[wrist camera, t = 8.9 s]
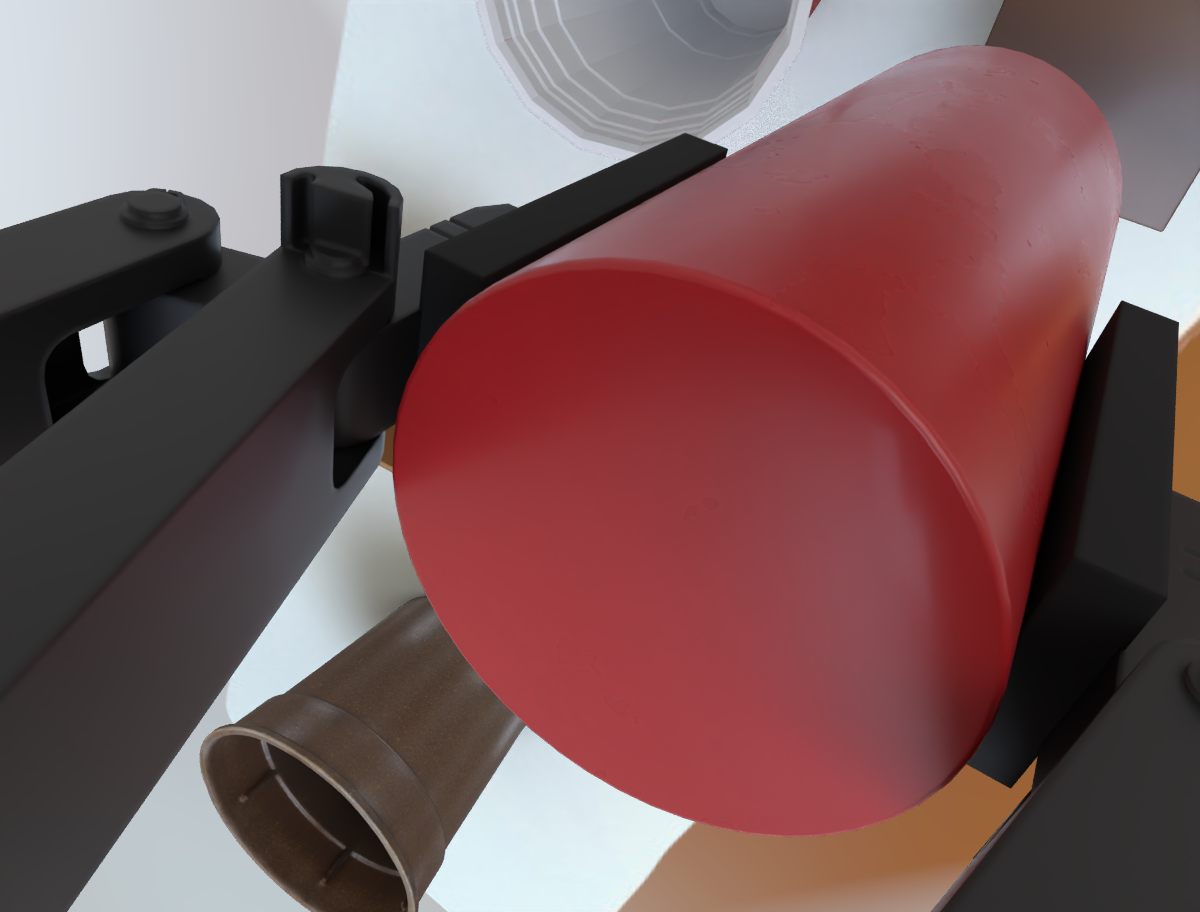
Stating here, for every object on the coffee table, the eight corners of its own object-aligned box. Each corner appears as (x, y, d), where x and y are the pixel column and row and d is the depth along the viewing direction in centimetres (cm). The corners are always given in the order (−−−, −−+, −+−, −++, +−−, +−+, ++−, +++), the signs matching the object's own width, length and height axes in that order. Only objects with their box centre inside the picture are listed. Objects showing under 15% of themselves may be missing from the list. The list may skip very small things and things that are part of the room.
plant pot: (585, 778, 65) (445, 980, 52) (414, 734, 73) (259, 898, 61) (529, 584, 58) (355, 762, 46) (348, 560, 67) (160, 705, 55)
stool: (1065, -93, 30) (1043, -93, 26) (1295, -33, 28) (1315, -21, 24) (972, 121, 34) (938, 153, 30) (1166, 187, 32) (1162, 233, 28)
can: (872, 4, 18) (412, 146, 7) (1191, 105, 16) (1187, 480, 6) (775, 279, 21) (373, 640, 11) (1029, 386, 20) (840, 936, 9)
